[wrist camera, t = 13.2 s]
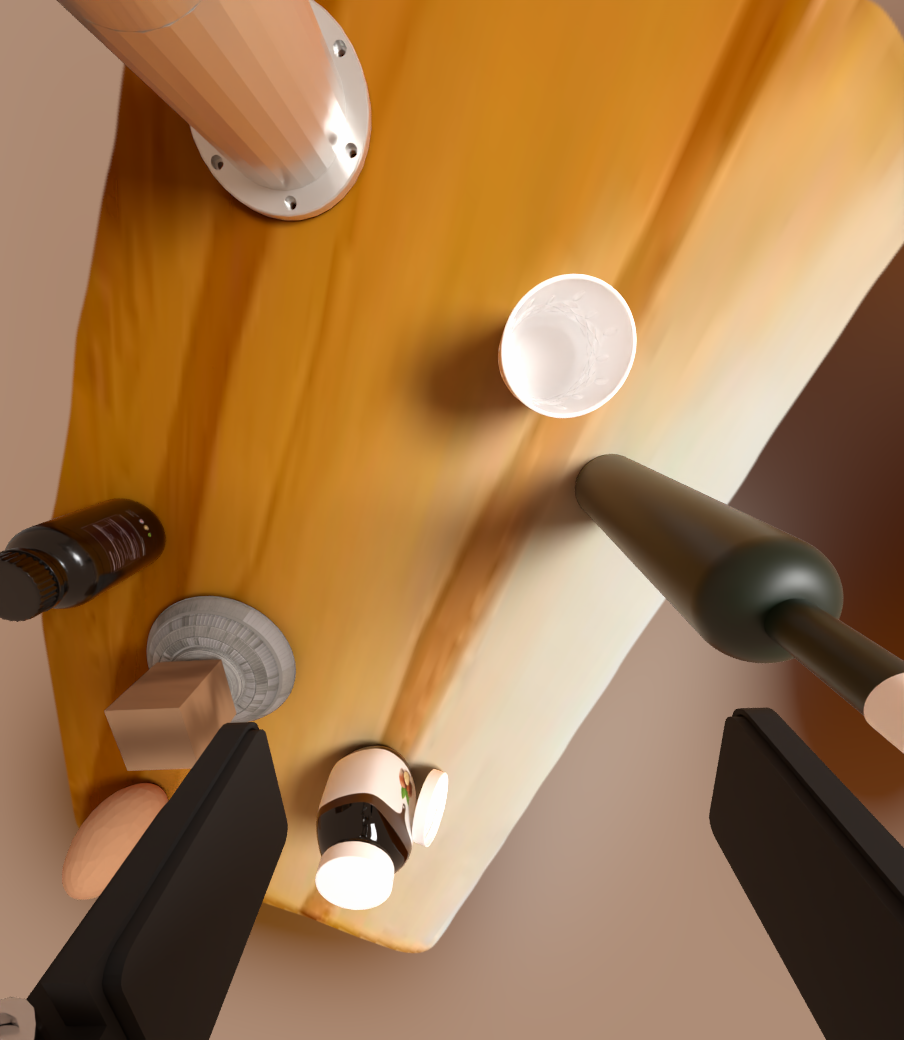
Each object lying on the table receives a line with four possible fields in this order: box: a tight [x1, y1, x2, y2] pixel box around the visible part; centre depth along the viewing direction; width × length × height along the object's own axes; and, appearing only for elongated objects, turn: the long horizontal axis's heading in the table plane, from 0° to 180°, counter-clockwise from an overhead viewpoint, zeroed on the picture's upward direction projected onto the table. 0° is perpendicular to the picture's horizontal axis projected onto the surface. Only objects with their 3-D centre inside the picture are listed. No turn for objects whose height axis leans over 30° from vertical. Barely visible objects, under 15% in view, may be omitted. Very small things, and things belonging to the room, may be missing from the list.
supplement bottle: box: [0, 499, 165, 622], centre depth 34 cm, size 7×7×12 cm
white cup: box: [498, 274, 636, 418], centre depth 30 cm, size 8×8×10 cm
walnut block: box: [104, 659, 236, 771], centre depth 37 cm, size 6×6×6 cm
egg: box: [62, 783, 168, 900], centre depth 45 cm, size 8×8×11 cm
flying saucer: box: [147, 596, 296, 723], centre depth 42 cm, size 15×15×6 cm
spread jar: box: [315, 746, 448, 910], centre depth 43 cm, size 12×11×12 cm
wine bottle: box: [575, 454, 904, 753], centre depth 23 cm, size 6×6×30 cm
